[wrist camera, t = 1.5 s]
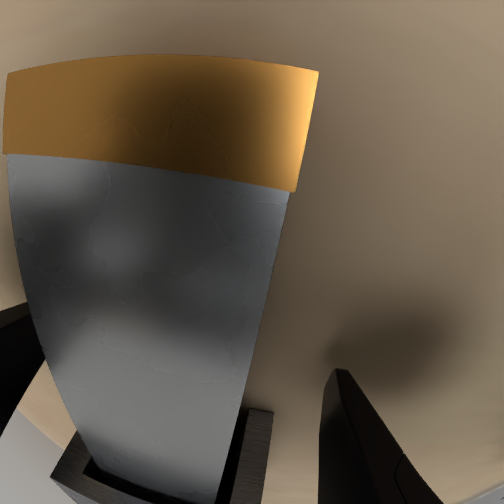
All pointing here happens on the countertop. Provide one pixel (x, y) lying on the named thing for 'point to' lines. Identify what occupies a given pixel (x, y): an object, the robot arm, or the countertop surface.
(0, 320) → the robot arm
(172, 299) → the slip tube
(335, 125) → the countertop surface
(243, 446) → the sleeve
